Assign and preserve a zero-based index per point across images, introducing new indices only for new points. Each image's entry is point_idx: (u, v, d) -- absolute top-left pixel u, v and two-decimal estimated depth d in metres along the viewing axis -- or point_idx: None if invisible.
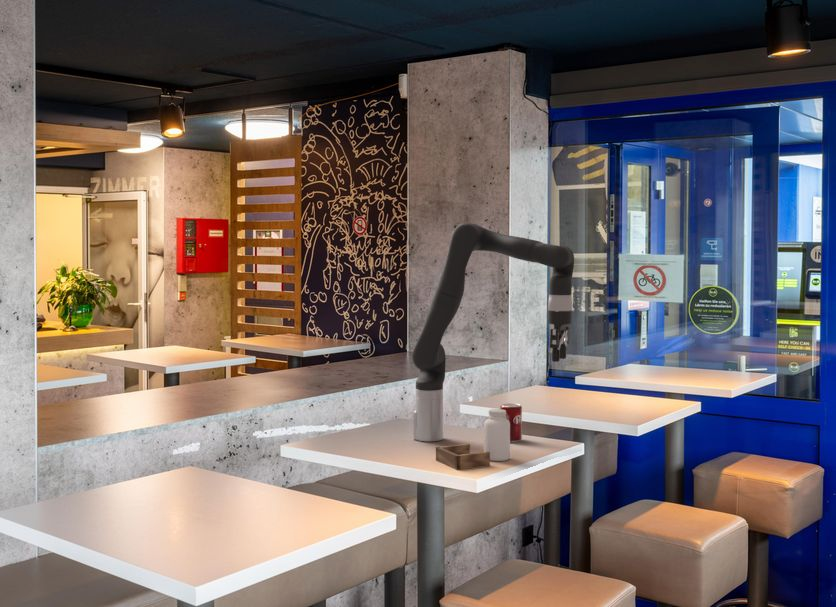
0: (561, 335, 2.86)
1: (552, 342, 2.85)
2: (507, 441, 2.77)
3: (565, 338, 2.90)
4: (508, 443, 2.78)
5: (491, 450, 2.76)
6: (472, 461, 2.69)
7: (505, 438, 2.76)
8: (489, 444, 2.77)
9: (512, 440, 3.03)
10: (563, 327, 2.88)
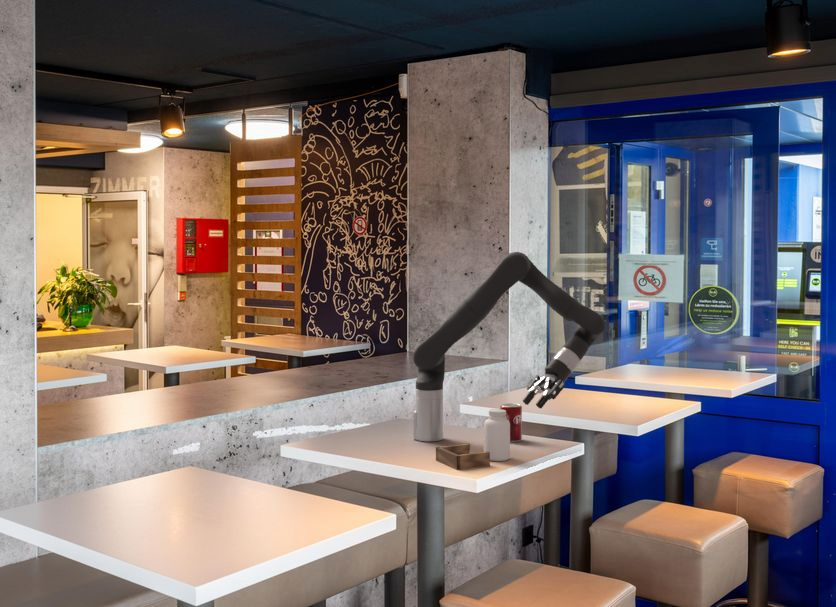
0: None
1: (547, 389, 2.82)
2: (507, 441, 2.77)
3: (543, 390, 2.89)
4: (508, 443, 2.78)
5: (491, 450, 2.76)
6: (472, 461, 2.69)
7: (505, 438, 2.76)
8: (489, 444, 2.77)
9: (512, 440, 3.03)
10: None
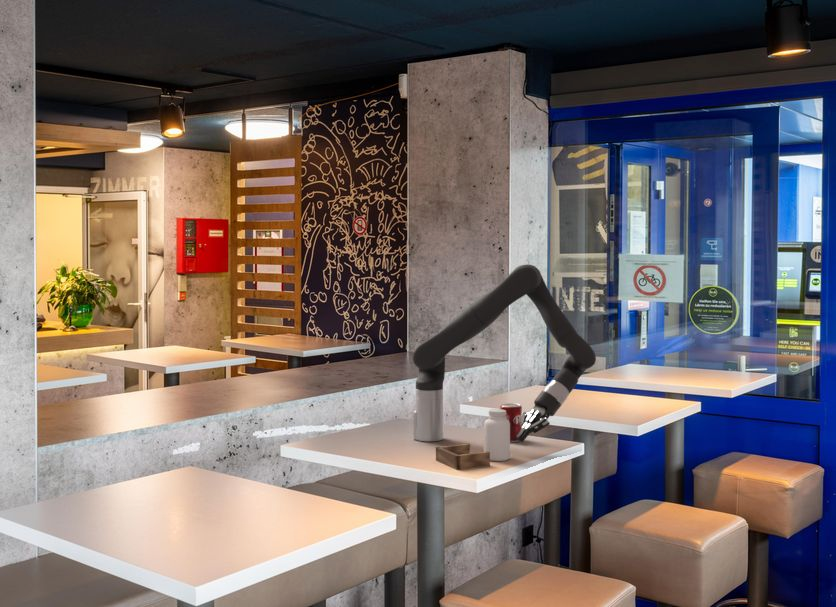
0: None
1: (530, 424, 2.83)
2: (507, 441, 2.77)
3: None
4: (508, 443, 2.78)
5: (491, 450, 2.76)
6: (472, 461, 2.69)
7: (505, 438, 2.76)
8: (489, 444, 2.77)
9: (512, 440, 3.03)
10: None
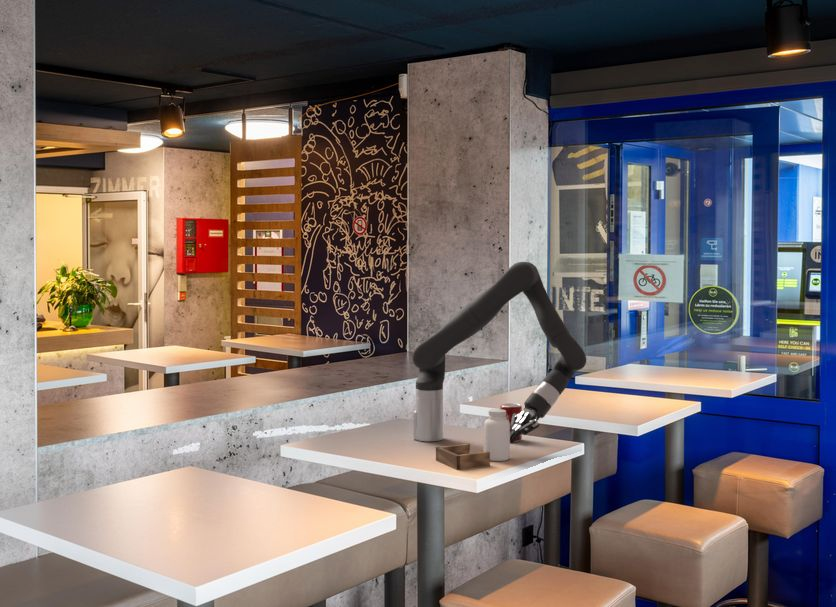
0: None
1: (520, 425, 2.82)
2: (507, 441, 2.77)
3: None
4: (508, 443, 2.78)
5: (491, 450, 2.76)
6: (472, 461, 2.69)
7: (505, 438, 2.76)
8: (489, 444, 2.77)
9: None
10: None
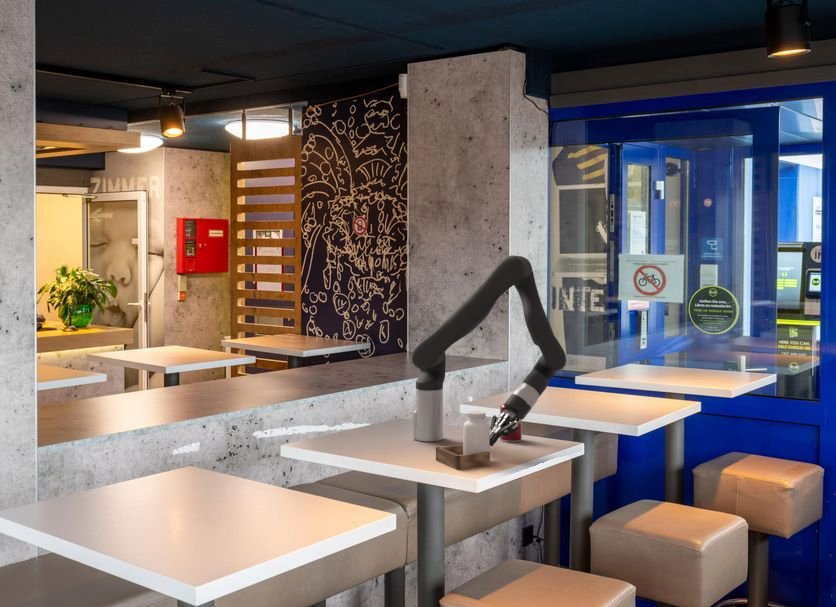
0: None
1: (500, 427, 2.78)
2: (486, 444, 2.74)
3: None
4: (487, 446, 2.74)
5: (470, 452, 2.73)
6: (472, 461, 2.69)
7: (484, 440, 2.73)
8: (468, 446, 2.73)
9: (512, 440, 3.03)
10: None
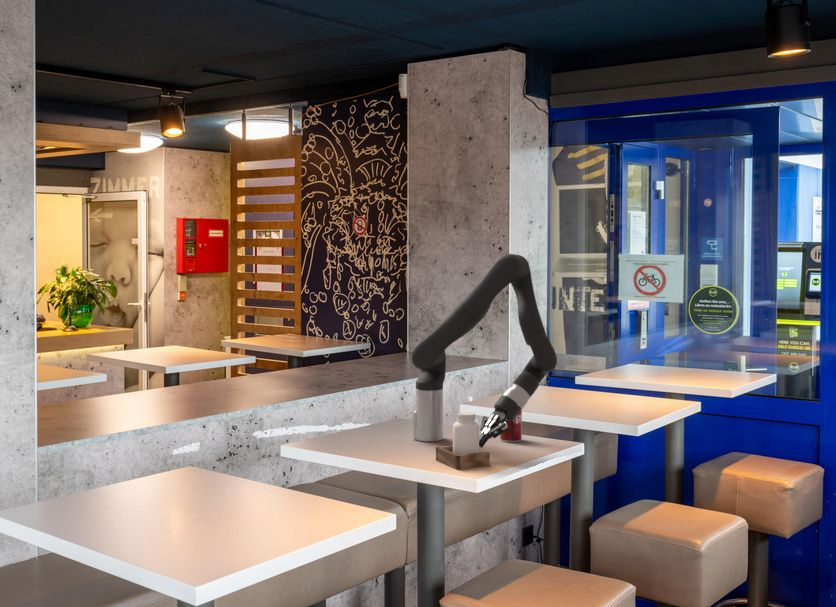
0: None
1: (490, 429, 2.76)
2: (475, 445, 2.72)
3: None
4: (477, 447, 2.72)
5: (459, 453, 2.71)
6: (472, 461, 2.69)
7: (473, 442, 2.71)
8: (457, 448, 2.72)
9: (512, 440, 3.03)
10: None
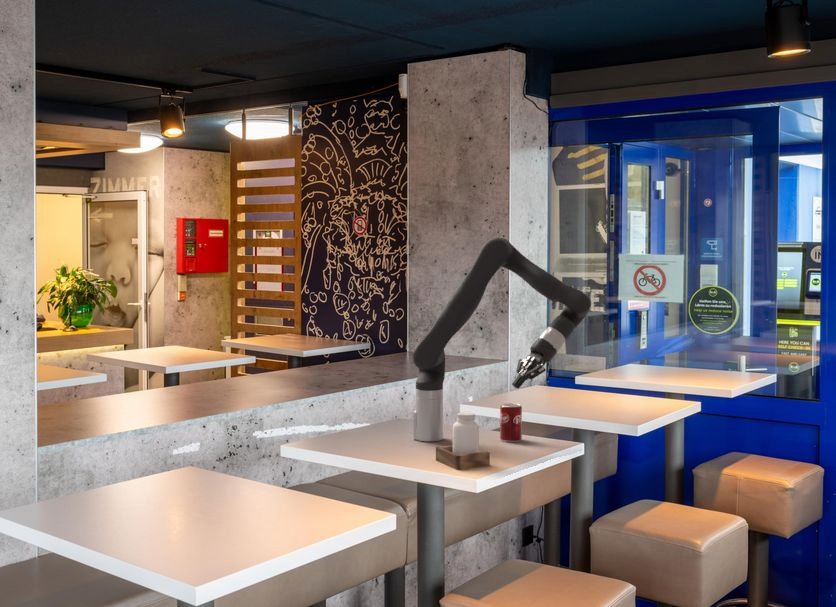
0: None
1: (526, 370, 2.82)
2: (475, 445, 2.72)
3: None
4: (476, 447, 2.72)
5: (459, 453, 2.71)
6: (472, 461, 2.69)
7: (473, 442, 2.71)
8: (457, 448, 2.72)
9: (512, 440, 3.03)
10: None
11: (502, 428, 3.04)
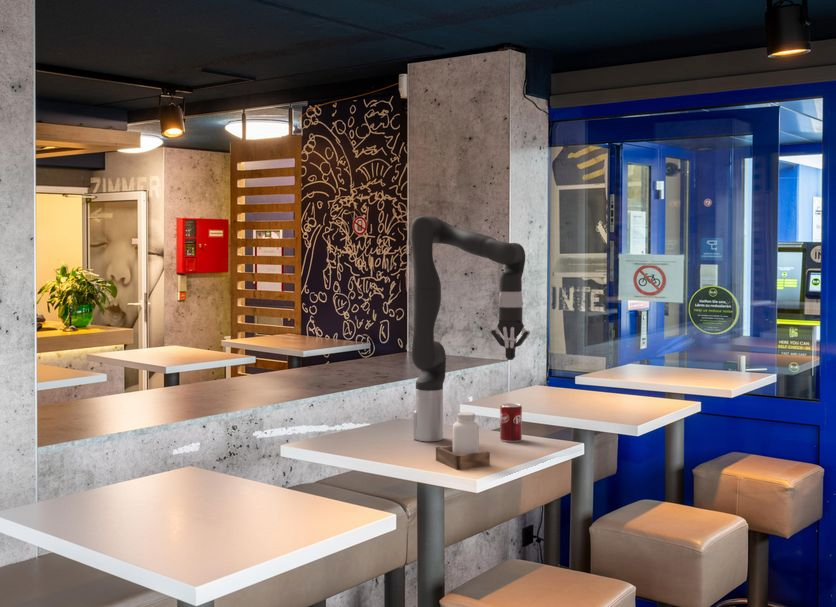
0: None
1: (514, 342, 2.89)
2: (475, 445, 2.72)
3: None
4: (476, 447, 2.72)
5: (459, 453, 2.71)
6: (472, 461, 2.69)
7: (473, 442, 2.71)
8: (457, 448, 2.72)
9: (512, 440, 3.03)
10: None
11: (502, 428, 3.04)
